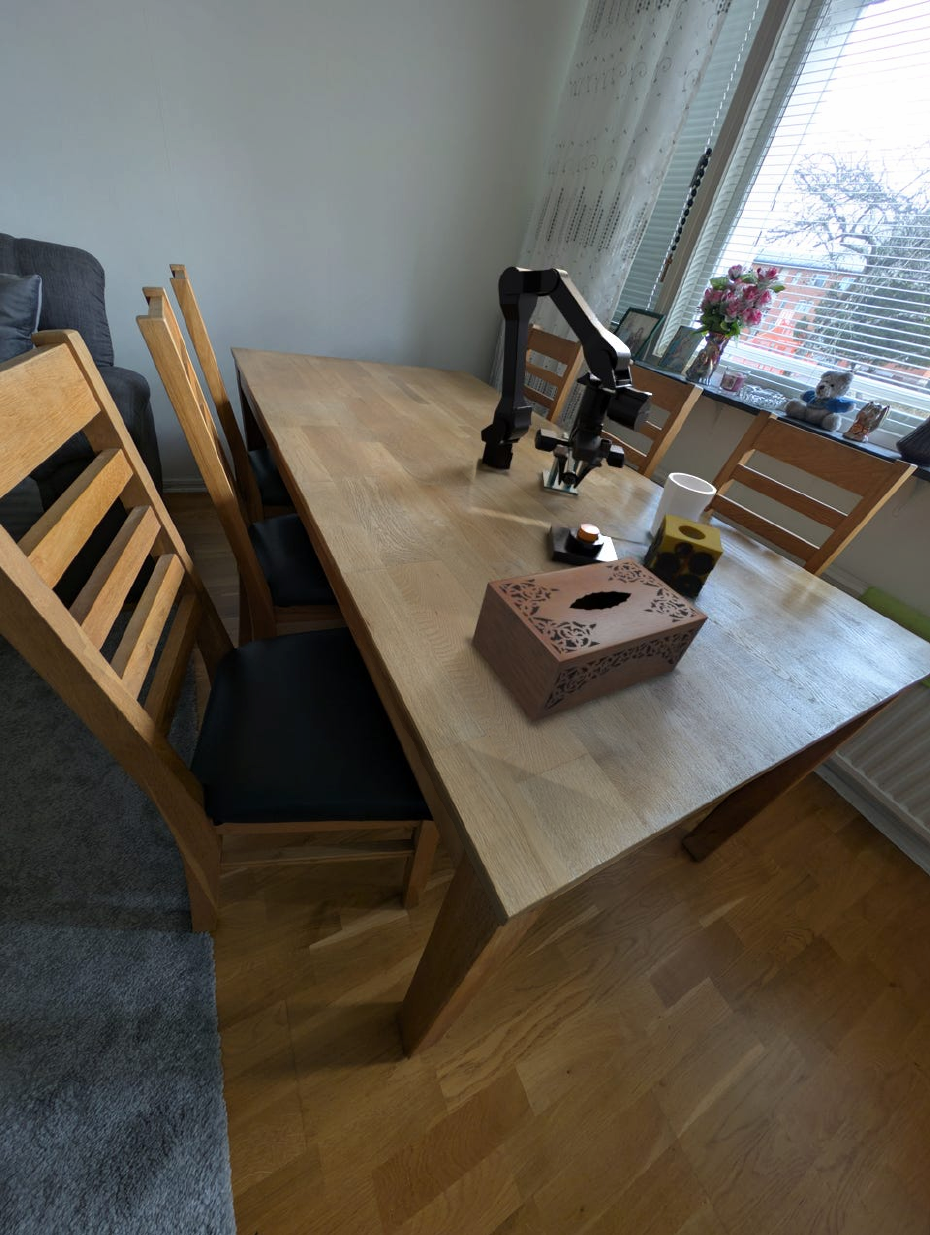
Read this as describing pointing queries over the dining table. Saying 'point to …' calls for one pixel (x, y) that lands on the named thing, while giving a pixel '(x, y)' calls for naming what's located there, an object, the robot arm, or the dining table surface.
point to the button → (588, 532)
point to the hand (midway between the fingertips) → (566, 486)
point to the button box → (579, 547)
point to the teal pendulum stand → (552, 477)
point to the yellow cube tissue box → (683, 554)
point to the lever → (569, 471)
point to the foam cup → (683, 498)
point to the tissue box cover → (582, 633)
